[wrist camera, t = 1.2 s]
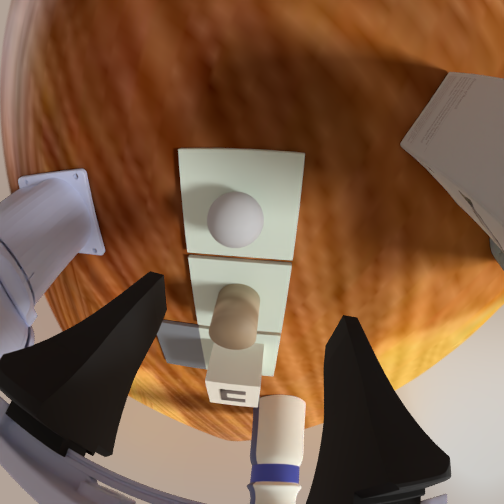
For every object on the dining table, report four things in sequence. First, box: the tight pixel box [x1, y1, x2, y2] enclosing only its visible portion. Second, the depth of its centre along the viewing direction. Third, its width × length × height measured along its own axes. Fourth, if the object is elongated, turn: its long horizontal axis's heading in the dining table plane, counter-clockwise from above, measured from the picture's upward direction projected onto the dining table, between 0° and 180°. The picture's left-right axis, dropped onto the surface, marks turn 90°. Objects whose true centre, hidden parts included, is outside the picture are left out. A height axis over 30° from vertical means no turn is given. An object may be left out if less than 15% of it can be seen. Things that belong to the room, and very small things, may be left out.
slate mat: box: [157, 320, 206, 369], centre depth 29 cm, size 5×8×1 cm, turn 178°
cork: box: [209, 284, 260, 350], centre depth 22 cm, size 4×4×4 cm
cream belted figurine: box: [247, 395, 306, 504], centre depth 26 cm, size 8×9×25 cm
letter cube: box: [205, 343, 264, 407], centre depth 26 cm, size 5×5×5 cm
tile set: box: [178, 148, 305, 376], centre depth 23 cm, size 8×25×1 cm, turn 178°
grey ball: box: [207, 191, 264, 248], centre depth 17 cm, size 4×4×4 cm
